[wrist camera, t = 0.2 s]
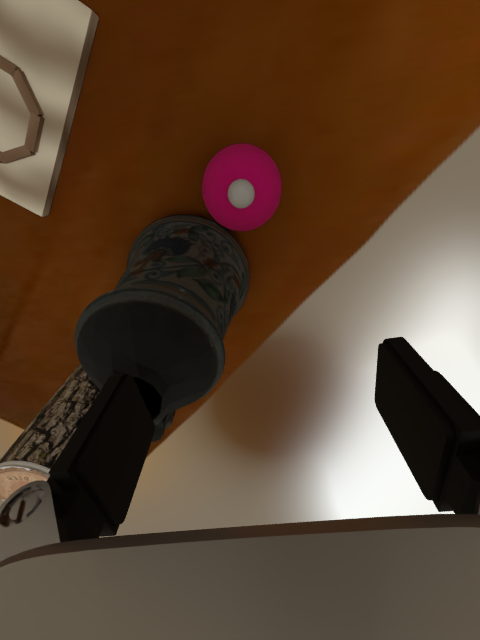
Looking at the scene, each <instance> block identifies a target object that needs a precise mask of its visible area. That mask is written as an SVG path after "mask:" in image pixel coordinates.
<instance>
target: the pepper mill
mask: <svg viewBox="0 0 480 640" xmlns="http://www.w3.org/2000/svg"><path fill="white" fill-rule="evenodd" d="M281 191H282V184H281V177H280V173H279V170H278V168H277V165H276V164H275V162H274V161H273V159H272V158H271V157H270V156H269V154H267V153H266V152H265V151H264V150H262V149H261V148H259V147H257V146H254V145H251V144H247V143H241V144H234V145H230V146H227V147H225V148H223V149H222V150H220V151H219V152H218V153H217V154H216V155H214V157H213V158H212V159H211V160H210V162H209V164H208V165H207V167H206V170H205V172H204V175H203V182H202V195H203V199H204V203H205V205H206V208H207V210H208V211H209V213H210V215H211V216H212V217H213V218H214V219H215V220H216V221H217V222H218V223H219V224H220V225H222V226H224V227H226V228H228V229H231V230H235V231H249V230H253V229H255V228H258V227H260V226H261V225H263V224H264V223H266V222H267V221H268V220H269V219H270V218H271V216H272V215H273V214H274V212H275V210H276V209H277V207H278V204H279V201H280V197H281Z"/></svg>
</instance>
